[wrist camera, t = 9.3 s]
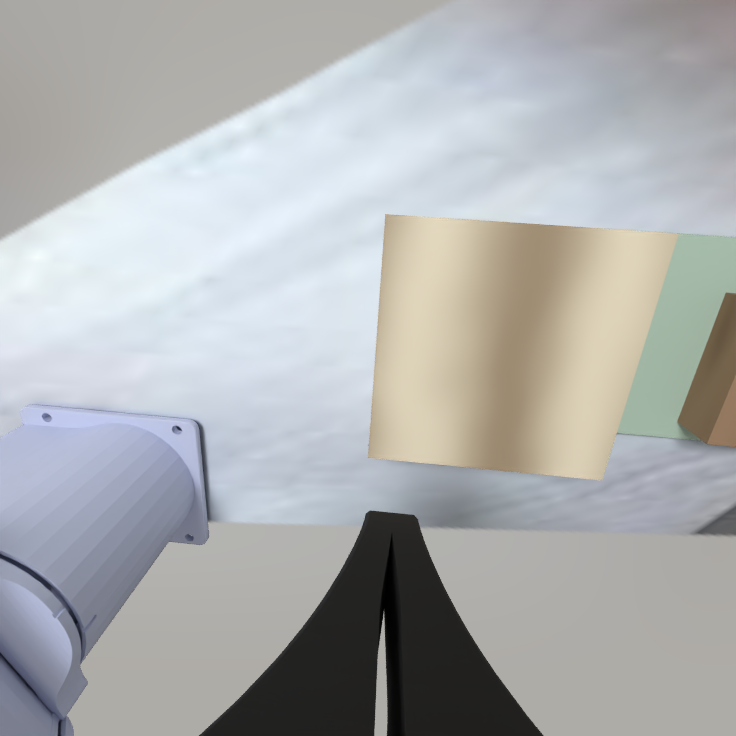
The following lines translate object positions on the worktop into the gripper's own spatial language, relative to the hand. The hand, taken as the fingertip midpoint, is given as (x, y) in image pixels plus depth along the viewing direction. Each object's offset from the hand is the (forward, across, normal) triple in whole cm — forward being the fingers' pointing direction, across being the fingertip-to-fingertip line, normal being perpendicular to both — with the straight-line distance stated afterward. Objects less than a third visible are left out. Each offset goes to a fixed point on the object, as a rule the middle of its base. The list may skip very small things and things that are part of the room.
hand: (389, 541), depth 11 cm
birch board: (+9, -4, -4) cm, 11 cm away
